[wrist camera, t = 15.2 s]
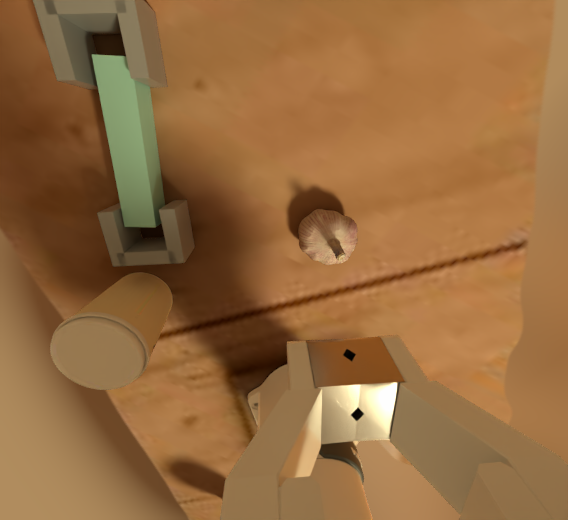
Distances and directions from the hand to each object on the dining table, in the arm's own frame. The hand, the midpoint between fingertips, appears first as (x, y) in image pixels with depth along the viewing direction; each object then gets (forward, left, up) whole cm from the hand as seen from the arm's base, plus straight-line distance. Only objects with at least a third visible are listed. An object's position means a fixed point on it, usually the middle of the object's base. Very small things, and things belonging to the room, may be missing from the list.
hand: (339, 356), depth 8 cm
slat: (+5, +16, -29) cm, 34 cm away
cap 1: (+14, +16, -29) cm, 36 cm away
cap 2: (-4, +16, -29) cm, 33 cm away
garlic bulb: (-6, -5, -29) cm, 30 cm away
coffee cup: (-14, +20, -29) cm, 38 cm away
